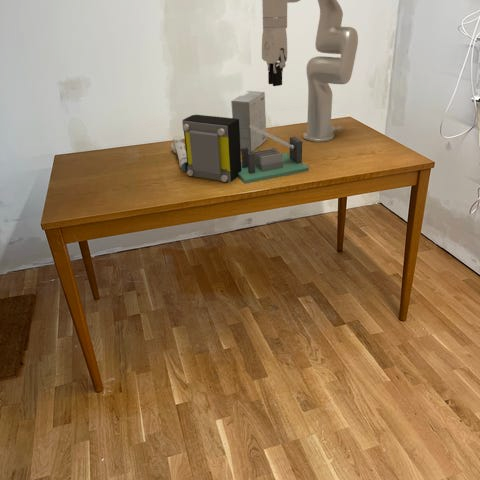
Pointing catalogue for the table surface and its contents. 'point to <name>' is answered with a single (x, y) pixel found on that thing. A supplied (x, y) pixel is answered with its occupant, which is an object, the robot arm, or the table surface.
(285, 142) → the grey long flat bar
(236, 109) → the hard drive box
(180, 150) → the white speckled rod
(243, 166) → the board
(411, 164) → the table surface
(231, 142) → the electrical component
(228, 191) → the table surface
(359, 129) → the table surface
